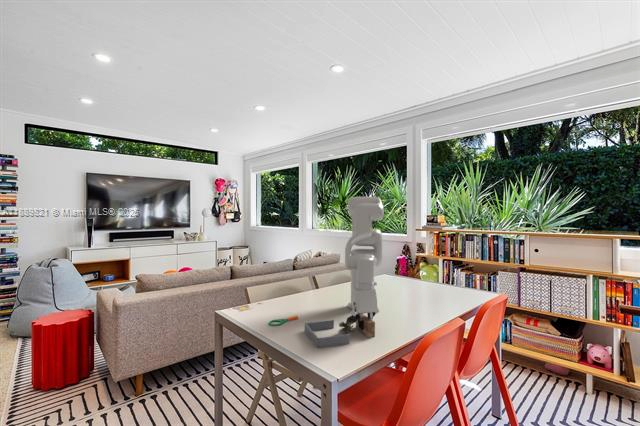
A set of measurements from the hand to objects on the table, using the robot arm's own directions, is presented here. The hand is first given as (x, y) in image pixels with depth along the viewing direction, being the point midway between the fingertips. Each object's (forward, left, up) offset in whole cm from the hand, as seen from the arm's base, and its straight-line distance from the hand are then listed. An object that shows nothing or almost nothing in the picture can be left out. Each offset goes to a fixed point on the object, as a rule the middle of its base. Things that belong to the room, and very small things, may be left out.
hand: (364, 328), depth 134 cm
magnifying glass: (+31, -23, -2) cm, 38 cm away
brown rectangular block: (0, 0, -2) cm, 2 cm away
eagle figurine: (+6, -3, -2) cm, 7 cm away
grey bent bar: (+18, 0, -2) cm, 18 cm away
